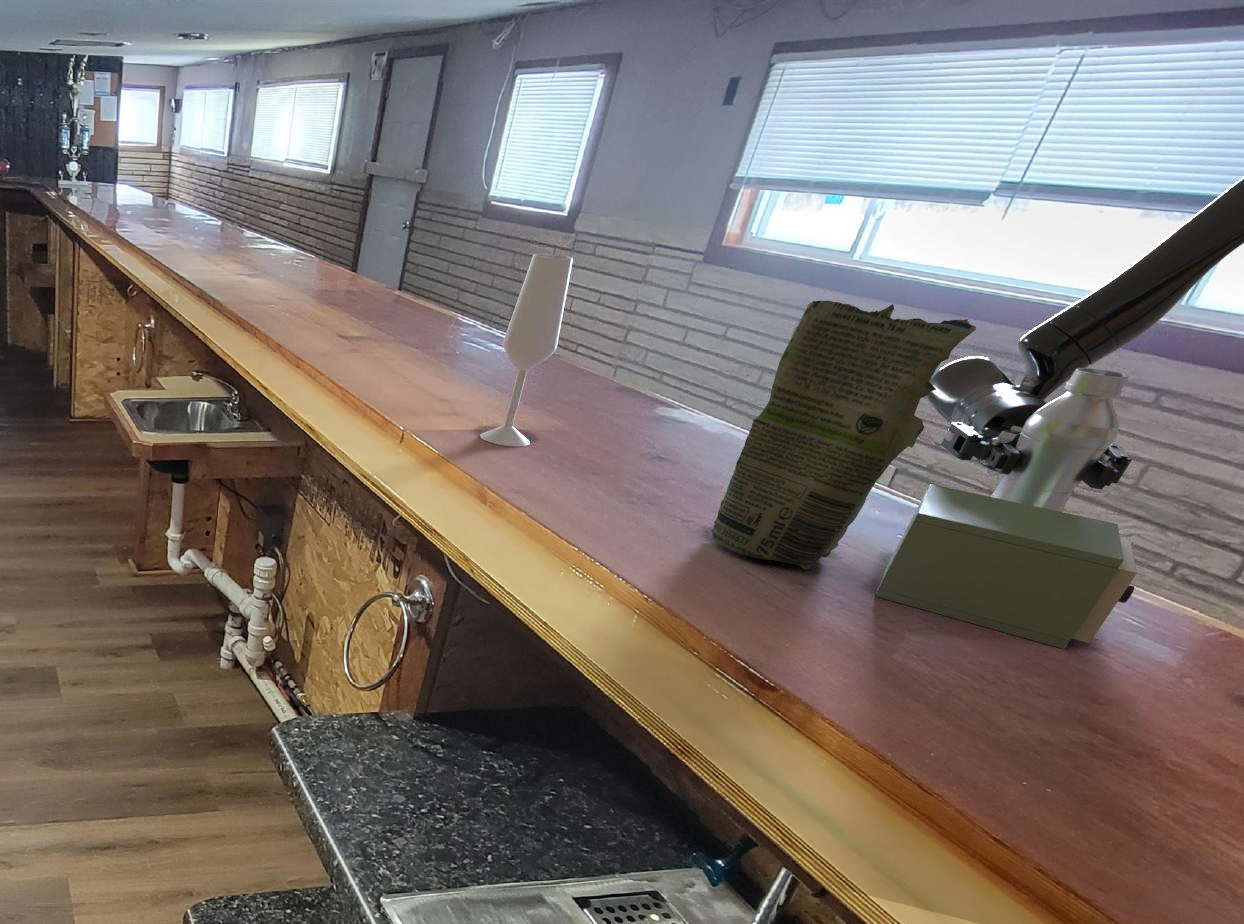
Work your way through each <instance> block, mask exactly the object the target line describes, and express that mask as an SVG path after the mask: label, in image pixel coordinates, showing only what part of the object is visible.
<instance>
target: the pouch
mask: <svg viewBox="0 0 1244 924" xmlns="http://www.w3.org/2000/svg"><path fill="white" fill-rule="evenodd" d="M894 311H895V306H894V303H892V304H891V305H889V306H887V307H885V308H883V309H881V310H877V309H876V310H875V311H866V310H863V309H861V308H859V307H858V306H854V305H851V304H850V303H843V302H840V301H833V300H812V302H809V303H808V304H807V306H806V309H805V311H804V313H803V314H802V316H801V318H800V320H799V322H798V324H797V326H796V327H795V328H794V331H793V333H792V336H791V338H790V340H789V342H788V344H787V346H786V347H785V349H784V352H783V353H782V356H781V357H780V360H779V361H778V366H777V369H776V372H775V375H774V379H773V382H772V386H771V391H770V396H769V400H768V402H767V404H766V405H765V407H764V408H763V410H762V412H760V414H759V415H758V416H757V417H756V418H754V419H752V422H751V428H750V430H749V432H748V435H747V437H746V438H745V441H744V445H743V448H742V450H741V452H740V455H739V457H738V459H737V461H736V463H735V467H734V471H733V473H732V476H731V478H730V480H729V483H728V486H727V489H726V491H725V494H724V497H723V498H722V500H721V501H720V504H719V505H720V506H719V509H718V512H717V516H716V518H715V520H714V522H713V527H712V529H711V530H710V531H711V534H712V539H714V540H715V541H716V542H718V543H720V544H721V545H722V546H723V547H724V548H726V549H727V550H729V551H730V552H734V553H737V554H741V555H743V556H746V557H751V558H754V559H757V560H765V561H766V560H767V561H768V560H769V561H777V562H781V563H786V564H791V565H796V566H798V567H800V568H801V569H803V570H805V571H807V570H810V568H812V567H813V566H814V565H816V564H817V563H818V562H819V561H820V560H821V558H828V557H829V556H830V555H831V551H833V550H835V549H836V548H838V546H839V542H840V541H841V540H842V538H843V537H844V536H845V534H846V533H847V531H848V528H849V527H850V526H851V524H853V522H854V521H855V520H856V518H857V517H858V515H859V514H860V512H861V510H862V509H863V507H864V505H865V503H866V501H867V497H868V496H869V494H870V492H871V491H872V489H873V488H874V486H875V484H876V483H877V482H878V480H879V479H880V478H881V477H882V476H883V474H884V473H885V471H887V469H888V467H889V466H890V465H891V463H892V462H893V461H895V459H896V458H897V457H898V456H899V455H900V454H901V453H903V452H904V451H905V450H906V449H907V448H908V447H909V448H911V449H912V448H913V447H914V446H915V444H916V443H917V439H918V437H919V436H920V435H921V434H922V432H923V431H924V429H925V425H924V422H923V419H921V418H920V417H918V416H917V415H915V414H916V412H917V409H918V406H919V404H920V401H921V399H922V398H926V396H927V395H929V393H930V392H931V391H936V388H935V387H934V386H933V385H932V384H931V383H930V382H929V381H930V379H931V378H932V377H933V375H934V374H935V373H936V371H937V368H938V367H939V366H940V365H941V364H942V362H944V361H947V360H949V359H950V355H951V353H952V351H953V350H954V349H955V348H956V347H957V346H958V345H959V344H960V343H961V342H962V341H963V340H965V339H966V338H967V337H969V336H970V335H971V334H972V333H974V332H975V331H976V330H977V326H976V325H973V324H971V323H970V322H969V318H965V319H950V320H945V319H944V320H942V321H941V322H928V321H926V320H924V319H922V318H908V319H903V318H895V319H894V318H892V317H891V316H892V314H893V312H894Z"/></svg>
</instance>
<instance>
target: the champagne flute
mask: <svg viewBox="0 0 1244 924" xmlns="http://www.w3.org/2000/svg"><path fill="white" fill-rule="evenodd" d="M573 259H574V258H573V256H569V255H561V254H551V253H535V254H532V257H531V260H530V262H529V266H528V269H527V272H526V275H525V277H524V281H523V284H522V285H521V288H520V291H519V295H518V298H517V300H516V304H515V306H514V308H513V312H512V315H511V318H510V319H509V320H510V321H509V324H508V326H507V329H506V332H505V335H504V337H503V341H502V344H503V349H504V351H505V354H506V356H507V357H508V359H509V360H510V362H511V363H512V365H513V366H514V367H515V368H516V369H518V370H517V374H516V377H515V381H514V385H513V389H512V392H511V396H510V400H509V404H508V408H507V412H506V415H505V419H504V423H503V424H502V425H500V426H498V427H495V428H493V429H490V430H488V431H485V432H482V433H480V435H479V437H480V438H481V439H482V440H484V441H486V442H488V443H491V444H495V445H498V446H503V447H504V446H505V447H526V446H528V445H530V444H531V442H530V440H529V439H528V438H527V437H525V436H524V435H523V434H522V433H521V432H520V431H519V430H517V428H515V427H514V423H515V419H516V416H517V411H518V408H519V405H520V401H521V397H522V393H523V390H524V387H525V386H524V385H525V381H526V378H527V374H528V371H529V370H533V369H535V368H536V367H537V366H539V365H541V364H542V363H543V362H545V361H547V360H548V359H549V358H550V357H552V355H553V354H554V353H555V352H556V350H557V348H558V342H559V337H560V332H561V328H562V327H561V326H562V320H563V315H564V311H565V310H564V309H565V304H566V299H567V293H568V287H569V282H570V276H571V271H572V266H573V261H574V260H573Z"/></svg>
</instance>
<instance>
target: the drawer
mask: <svg viewBox="0 0 1244 924" xmlns="http://www.w3.org/2000/svg"><path fill="white" fill-rule="evenodd" d="M1120 542H1121V547H1122V553H1123V559H1124V561H1123V563H1122V564H1121V566H1120V567H1119V568H1118V570H1117V572H1116V573H1115V575H1114V576H1113V578H1112V579H1111V581H1110V582H1109V584H1108V585H1107V587H1106V588H1105V590H1104V591H1103V593H1102V594H1101V596H1100V597H1099V599H1098V600H1097V602H1096V603H1095V605H1094V606H1093V608H1092V609H1091V611H1090V612H1089V614H1088V615H1087V617H1086V618H1085V620H1084V621H1083V623H1082V624H1081V626H1080V627H1079V629H1078V630H1077V632H1076V633H1075V635H1074V636H1073V638H1072V639H1073V640H1076V641H1080V642H1083V643H1088V644H1089V643H1091V641H1092V640H1093V639H1094V637H1095V636H1096V634H1097V633H1098V632H1099V630H1100V628H1101V627H1102V626H1103V624H1104V623H1105V621H1106V620H1107V618H1108V617H1109V615H1110V614H1111V612H1112V610H1113V609H1114V608H1115V606H1116V605H1117V604H1118V603H1121V604H1125V603H1127V601H1128V600H1129V599H1130V598H1131V596H1132V595H1133V593H1134V591H1135V585H1132V584H1131V583H1132V581H1133V580H1134V578H1135V577H1136V575H1137V574H1138V572H1137V565H1136V561H1135V560H1136V559H1135V555H1134V551H1133V546H1132V545H1133V544H1132V541H1131V538H1128V537H1123V536H1120ZM1072 639H1071V640H1072Z"/></svg>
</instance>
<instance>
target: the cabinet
mask: <svg viewBox="0 0 1244 924" xmlns="http://www.w3.org/2000/svg"><path fill="white" fill-rule="evenodd" d="M1120 537H1121V536H1120V530H1119V525H1118V523H1114V522H1110V521H1106V520H1100V519H1096V518H1093V517H1086V516H1082V515H1077V514H1073V513H1068V512H1064V511H1062V512H1059V511H1054V510H1050V509H1045V508H1040V507H1036V506H1031V505H1026V504H1022V503H1017V502H1012V501H1007V500H1003V499H998V498H993V497H990V496H988V495H985V494H980V493H979V494H978V493H975V492H971V491H965V490H961V489H955V488H951V487H946V486H942V485H938V484H937V485H936V484H932V483H929V485H928V487H927V489H926V491H925V493H924V494H923V496H922V498H921V500H920V502H919V504H918V506H917V508H916V509H915V511H914V513H913V515H912V517H911V519H910V521H909V523H908V524H907V527H906V528H905V531H904V533H903V534H902V537H901V538H900V540H899V542H898V544H897V546H896V548H895V549H894V552H893V554H892V555H891V557H890V559H889V561H888V563H887V566H886V568H885V570H884V572H883V575H882V578H881V580H880V582H879V585H878V587H877V589H876V591H875V594H874V596H875V597H877V598H880V599H884V600H887V601H891V602H895V603H898V604H901V605H906V606H909V607H913V608H915V609H919V610H923V611H927V612H930V613H934V614H938V615H942V616H944V617H948V618H952V619H956V620H958V621H962V622H965V623H970V624H974V625H977V626H980V627H984V628H987V629H991V630H994V631H998V632H1001V633H1005V634H1009V635H1013V636H1016V637H1019V638H1023V639H1027V640H1030V641H1034V642H1037V643H1041V644H1045V645H1048V646H1051V647H1056V648H1059V649H1063V650H1065V649H1066V648H1067V647H1068V645H1069V644H1070V642H1071V641H1072V638H1073V636H1074V635H1075V633H1076V632H1077V630H1078V629H1079V627H1080V626H1081V624H1082V623H1083V621H1084V620H1085V618H1086V617H1087V615H1088V614H1089V612H1090V611H1091V609H1092V608H1093V606H1094V605H1095V603H1096V602H1097V600H1098V599H1099V597H1100V596H1101V594H1102V593H1103V591H1104V590H1105V588H1106V587H1107V585H1108V584H1109V582H1110V581H1111V579H1112V578H1113V576H1114V575H1115V573H1116V572H1117V570H1118V568H1119V567H1120V566H1121V564H1122V563H1123V561H1124V559H1123V553H1122V547H1121V542H1120Z"/></svg>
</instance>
